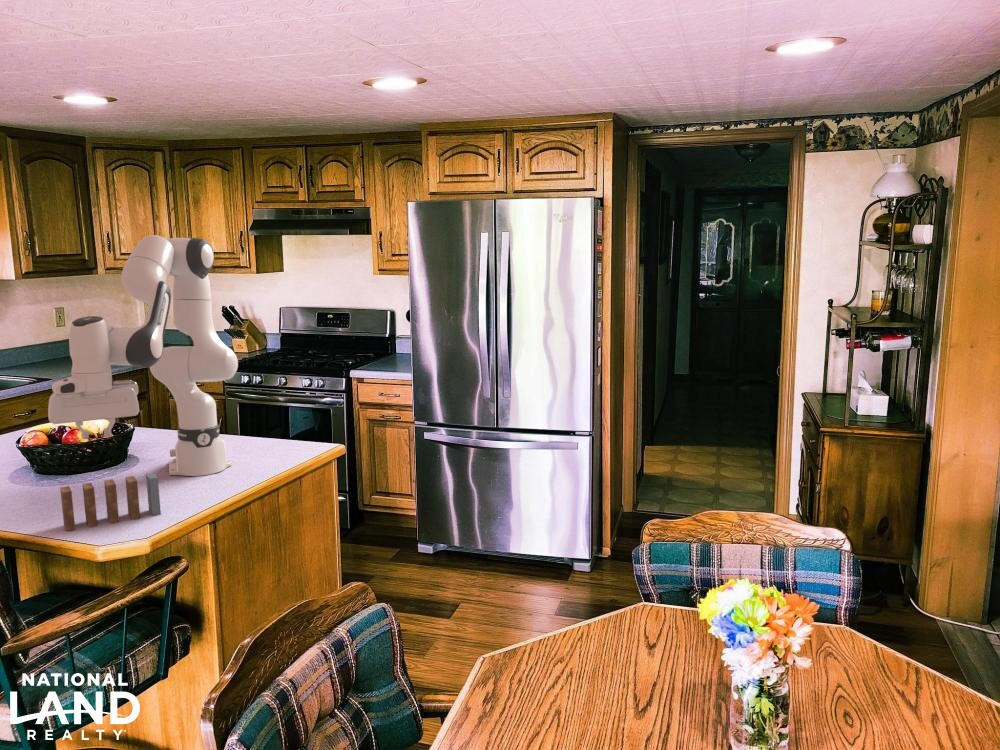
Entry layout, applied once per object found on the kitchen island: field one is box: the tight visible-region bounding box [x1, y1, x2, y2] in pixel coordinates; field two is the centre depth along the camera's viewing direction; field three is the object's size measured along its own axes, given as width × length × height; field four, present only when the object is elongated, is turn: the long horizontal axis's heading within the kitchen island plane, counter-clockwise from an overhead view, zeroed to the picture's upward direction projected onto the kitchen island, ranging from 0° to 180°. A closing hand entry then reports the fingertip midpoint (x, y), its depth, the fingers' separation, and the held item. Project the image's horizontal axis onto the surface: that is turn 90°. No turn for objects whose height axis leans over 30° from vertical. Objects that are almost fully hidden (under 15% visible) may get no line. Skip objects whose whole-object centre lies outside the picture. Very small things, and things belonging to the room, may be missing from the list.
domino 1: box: [60, 485, 76, 532], centre depth 199 cm, size 2×5×10 cm, turn 34°
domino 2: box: [81, 482, 98, 528], centre depth 202 cm, size 2×5×10 cm, turn 34°
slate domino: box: [145, 472, 162, 516], centre depth 210 cm, size 2×5×10 cm, turn 34°
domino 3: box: [103, 478, 120, 524], centre depth 205 cm, size 2×5×10 cm, turn 34°
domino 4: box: [124, 475, 141, 520], centre depth 207 cm, size 2×5×10 cm, turn 34°
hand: (96, 437), depth 200 cm, fingers open, 4 cm apart
